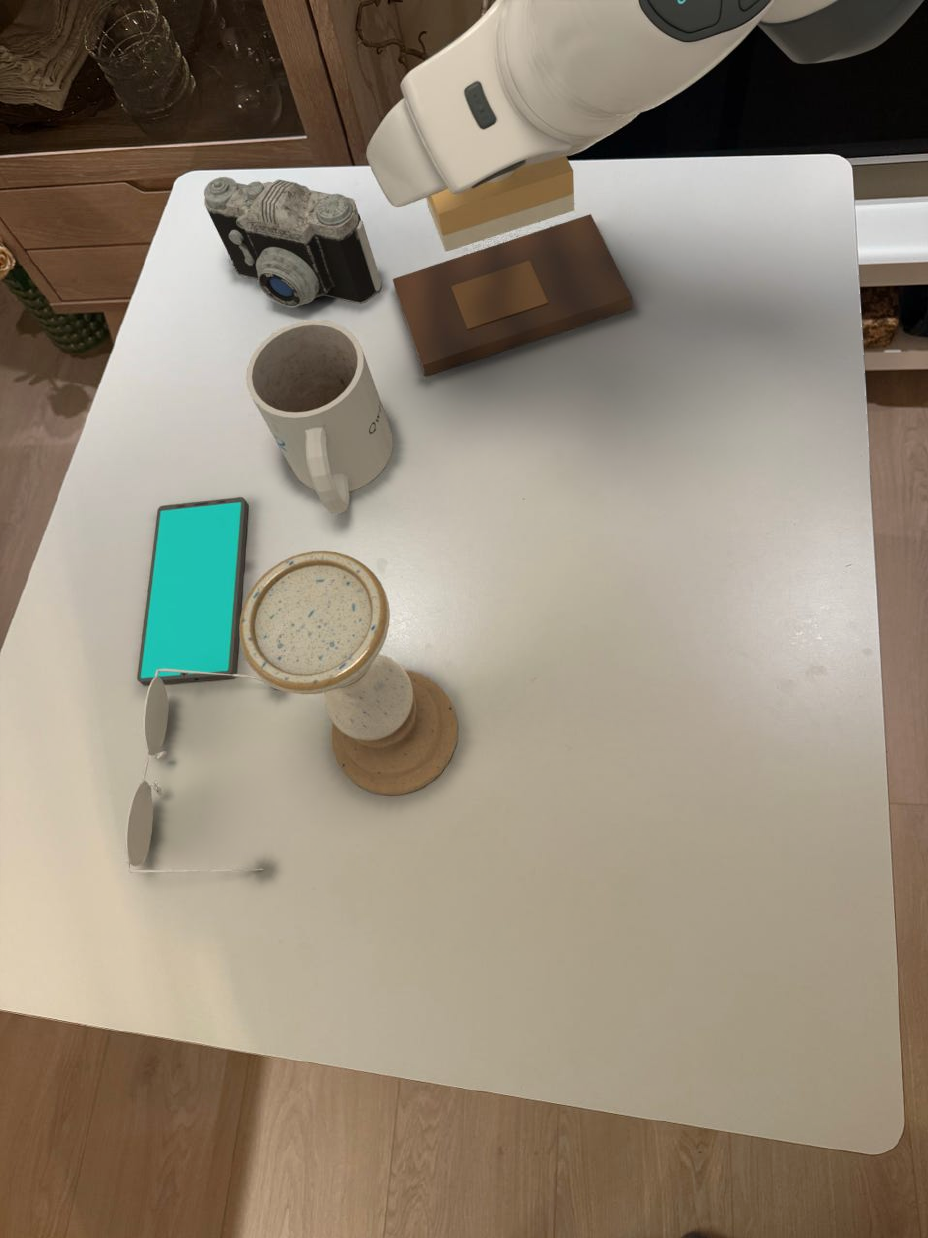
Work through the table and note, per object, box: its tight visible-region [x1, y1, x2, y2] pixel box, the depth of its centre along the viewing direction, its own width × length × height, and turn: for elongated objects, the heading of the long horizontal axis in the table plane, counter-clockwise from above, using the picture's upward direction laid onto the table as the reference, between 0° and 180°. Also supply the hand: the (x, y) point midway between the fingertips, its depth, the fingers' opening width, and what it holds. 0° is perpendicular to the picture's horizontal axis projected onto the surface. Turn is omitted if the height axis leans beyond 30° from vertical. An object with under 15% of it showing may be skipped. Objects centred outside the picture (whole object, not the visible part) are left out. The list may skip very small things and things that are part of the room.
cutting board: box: [392, 213, 633, 377], centre depth 76 cm, size 18×10×2 cm, turn 106°
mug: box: [245, 319, 394, 514], centre depth 68 cm, size 12×9×10 cm
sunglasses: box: [124, 669, 280, 874], centre depth 61 cm, size 14×8×5 cm, turn 0°
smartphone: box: [136, 496, 249, 686], centre depth 69 cm, size 7×1×15 cm
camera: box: [203, 176, 382, 309], centre depth 76 cm, size 15×7×10 cm, turn 67°
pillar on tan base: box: [425, 156, 575, 253], centre depth 62 cm, size 10×5×12 cm, turn 106°
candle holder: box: [239, 550, 459, 796], centre depth 53 cm, size 9×9×20 cm
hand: (486, 128), depth 62 cm, fingers closed on pillar on tan base, 3 cm apart
